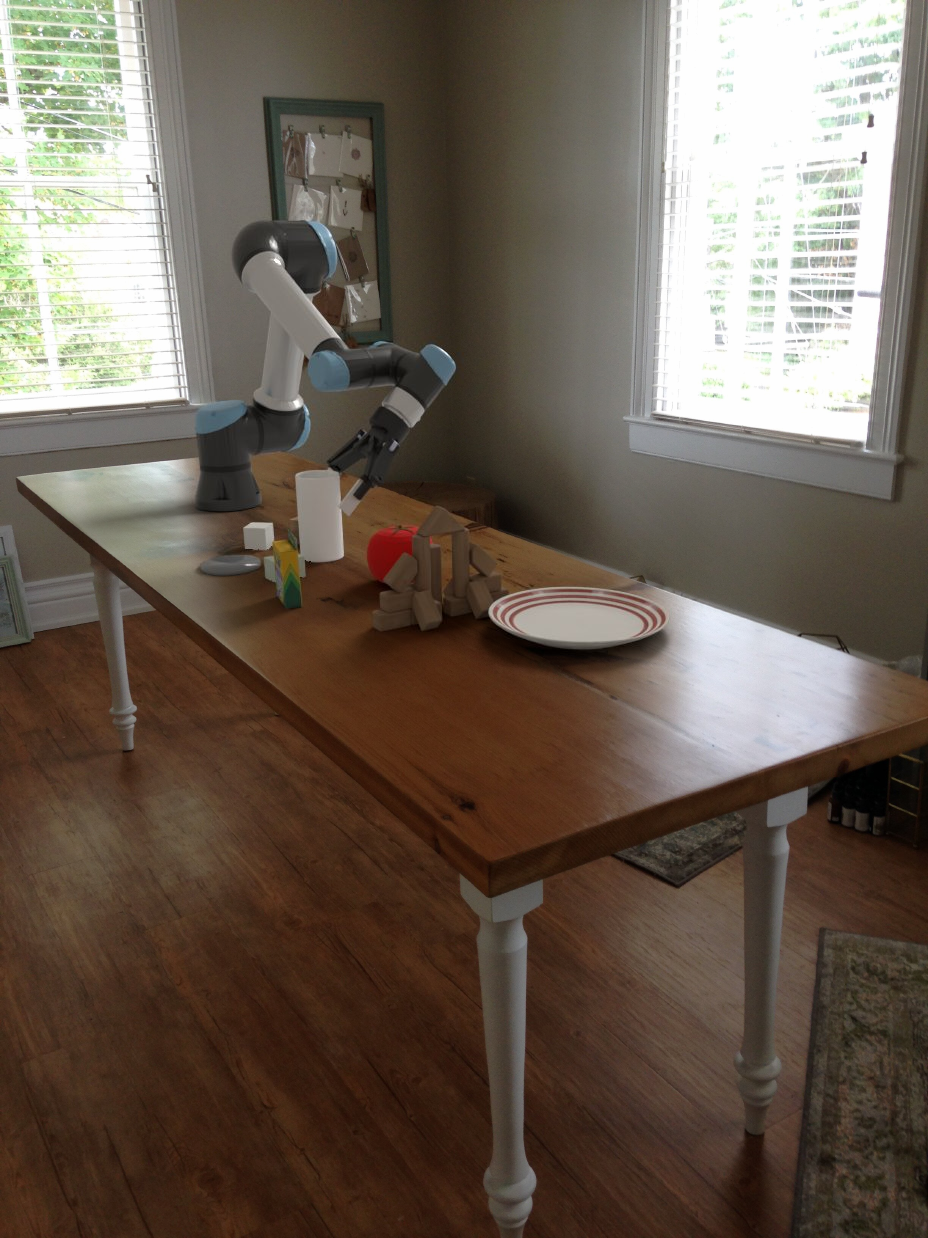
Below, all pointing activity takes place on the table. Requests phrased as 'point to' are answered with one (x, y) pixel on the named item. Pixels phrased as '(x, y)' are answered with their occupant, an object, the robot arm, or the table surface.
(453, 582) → the wooden blocks
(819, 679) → the table surface
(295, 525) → the walnut block
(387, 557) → the tomato
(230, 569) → the coaster
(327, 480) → the cup
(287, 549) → the crayon box
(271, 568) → the sage painted block
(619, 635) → the dinner plate
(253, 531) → the off-white plastic block
